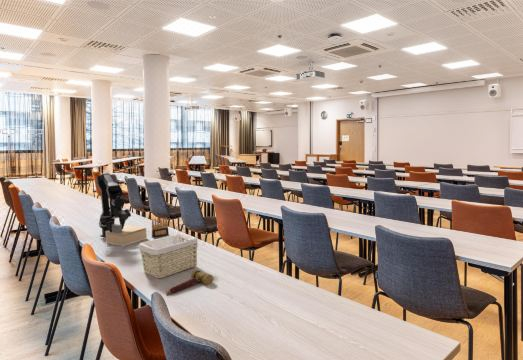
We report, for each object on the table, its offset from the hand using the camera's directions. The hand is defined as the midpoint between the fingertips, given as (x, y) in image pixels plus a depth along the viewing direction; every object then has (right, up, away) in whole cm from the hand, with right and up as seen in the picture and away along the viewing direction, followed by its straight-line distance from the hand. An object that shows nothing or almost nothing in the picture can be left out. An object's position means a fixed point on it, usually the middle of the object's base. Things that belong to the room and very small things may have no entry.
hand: (116, 230), depth 230 cm
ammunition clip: (+23, -6, +16) cm, 28 cm away
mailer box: (+4, -7, +7) cm, 11 cm away
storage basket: (+44, -13, -47) cm, 66 cm away
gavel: (+57, -15, -69) cm, 91 cm away
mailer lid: (+4, -1, +6) cm, 7 cm away
